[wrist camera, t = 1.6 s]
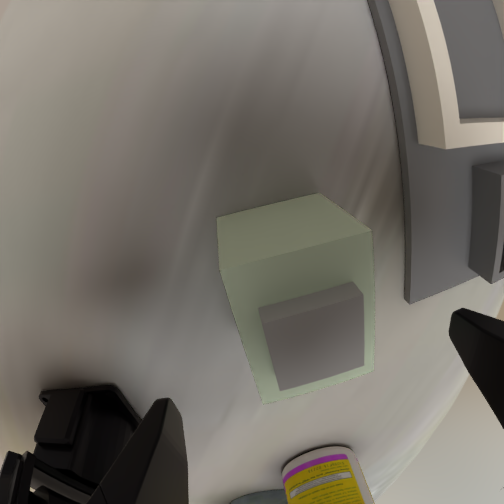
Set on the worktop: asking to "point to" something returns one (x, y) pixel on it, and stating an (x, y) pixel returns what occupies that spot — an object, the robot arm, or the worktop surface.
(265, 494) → the drinking glass
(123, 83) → the worktop surface
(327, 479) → the supplement bottle
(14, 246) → the worktop surface
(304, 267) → the pale green block
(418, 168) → the chassis
